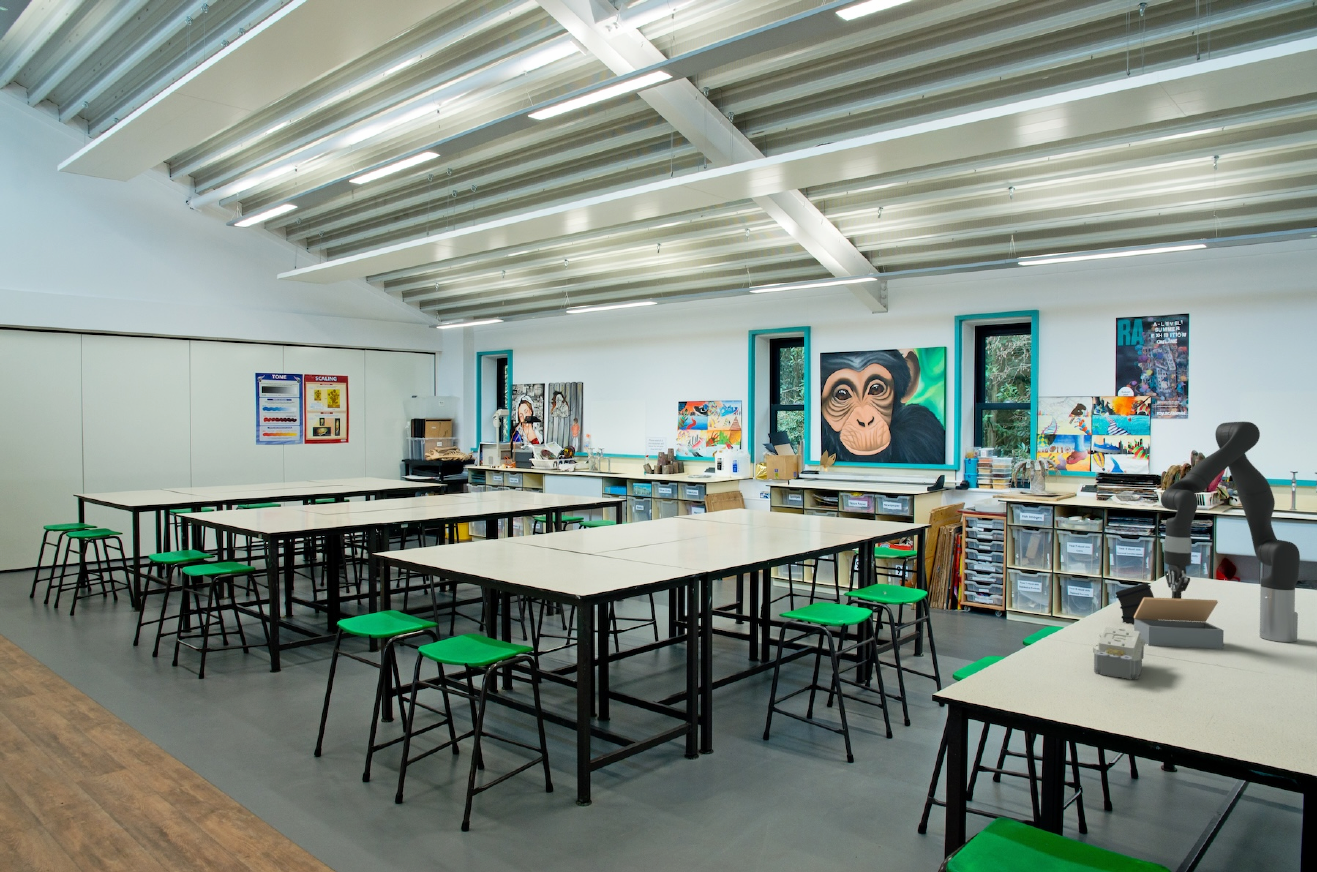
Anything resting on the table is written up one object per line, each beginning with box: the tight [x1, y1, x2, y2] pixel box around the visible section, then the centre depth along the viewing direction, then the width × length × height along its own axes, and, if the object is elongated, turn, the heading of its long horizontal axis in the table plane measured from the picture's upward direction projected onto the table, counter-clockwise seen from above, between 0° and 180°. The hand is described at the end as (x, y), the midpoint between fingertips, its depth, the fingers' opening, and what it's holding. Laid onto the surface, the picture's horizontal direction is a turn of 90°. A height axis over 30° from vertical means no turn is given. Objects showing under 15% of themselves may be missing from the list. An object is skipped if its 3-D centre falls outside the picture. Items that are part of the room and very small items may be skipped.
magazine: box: [1115, 582, 1155, 625], centre depth 291 cm, size 4×13×15 cm, turn 52°
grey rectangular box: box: [1133, 619, 1225, 650], centre depth 265 cm, size 22×11×6 cm, turn 81°
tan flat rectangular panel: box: [1134, 597, 1219, 622], centre depth 267 cm, size 22×11×1 cm
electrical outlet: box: [1092, 626, 1146, 680], centre depth 234 cm, size 12×28×10 cm, turn 145°
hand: (1176, 602), depth 266 cm, fingers closed
